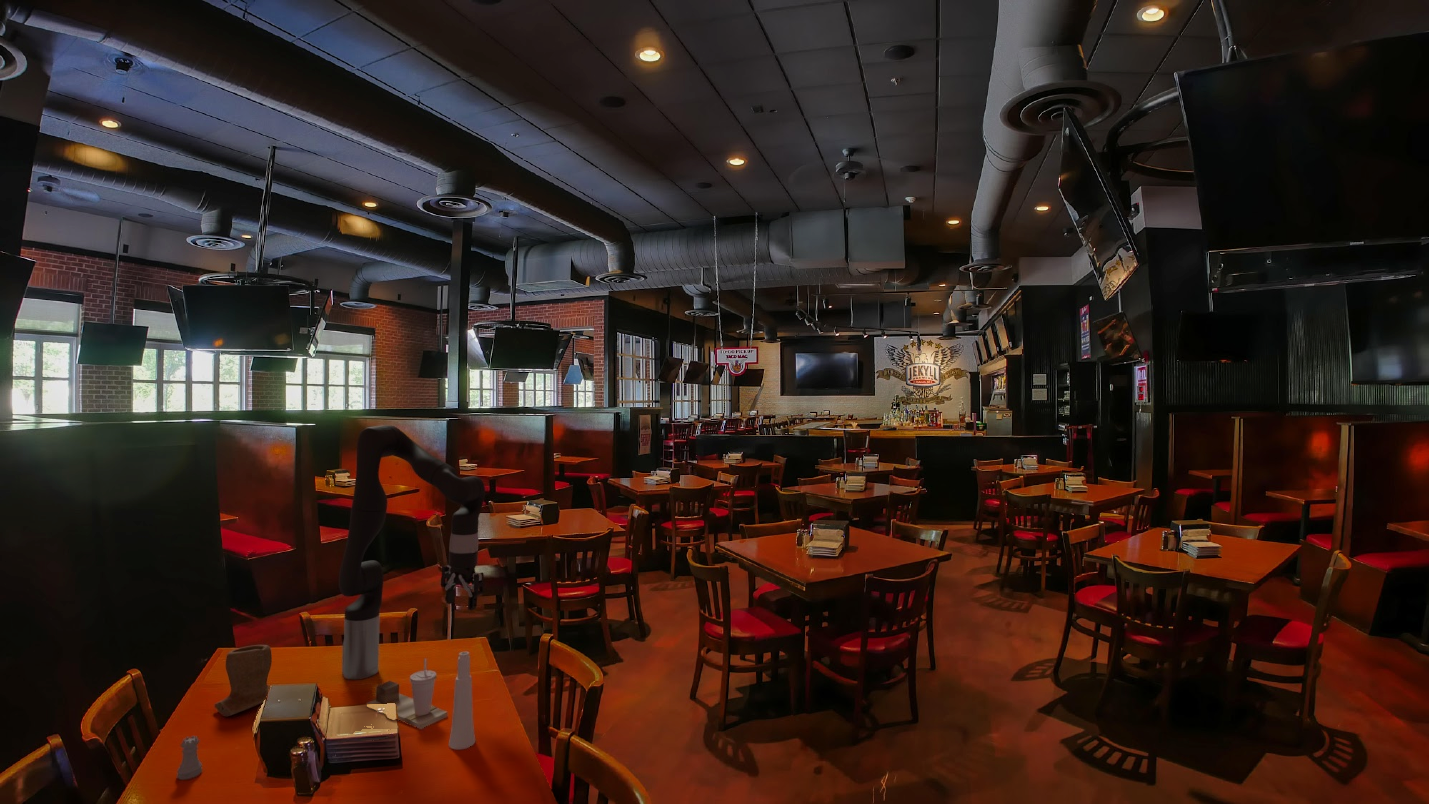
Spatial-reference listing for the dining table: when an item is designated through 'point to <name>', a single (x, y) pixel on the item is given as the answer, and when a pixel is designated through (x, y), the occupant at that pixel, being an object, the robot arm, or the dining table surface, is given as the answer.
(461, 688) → the cosmetic bottle
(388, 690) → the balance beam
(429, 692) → the white drink cup
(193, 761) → the rook chess piece
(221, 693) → the dining table surface
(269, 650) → the brown boot
